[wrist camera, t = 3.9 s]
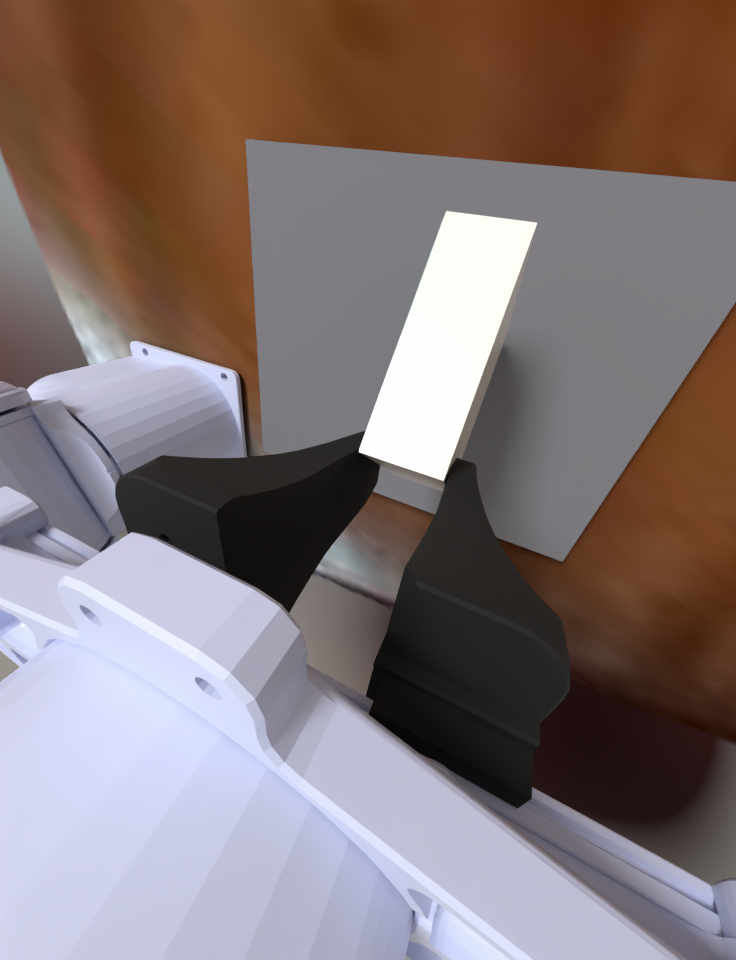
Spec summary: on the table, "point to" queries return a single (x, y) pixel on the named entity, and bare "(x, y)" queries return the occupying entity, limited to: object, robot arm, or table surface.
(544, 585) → the table surface
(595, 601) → the table surface
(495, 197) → the mat
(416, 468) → the tile
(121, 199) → the table surface
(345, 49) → the table surface
